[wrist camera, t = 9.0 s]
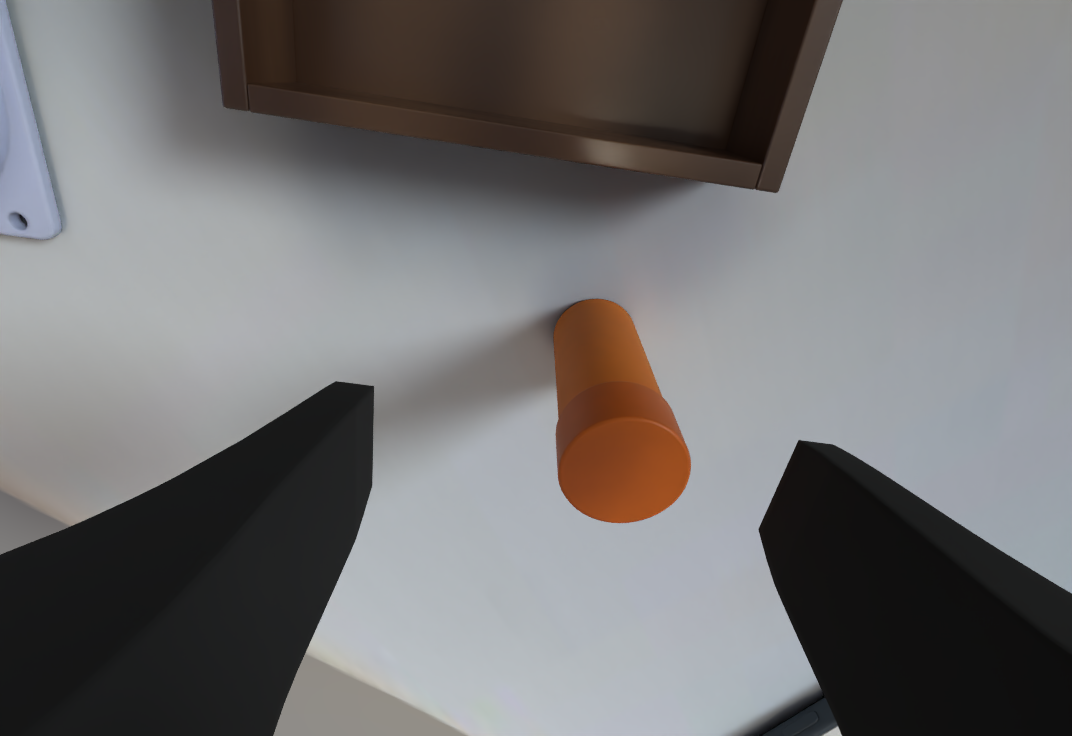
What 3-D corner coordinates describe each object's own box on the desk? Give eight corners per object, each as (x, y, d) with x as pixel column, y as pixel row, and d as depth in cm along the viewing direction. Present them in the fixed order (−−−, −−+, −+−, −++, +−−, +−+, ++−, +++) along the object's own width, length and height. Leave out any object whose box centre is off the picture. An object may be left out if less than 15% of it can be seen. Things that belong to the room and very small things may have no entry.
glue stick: (544, 369, 20) (548, 517, 13) (558, 289, 18) (570, 409, 12) (627, 379, 20) (672, 530, 13) (646, 301, 19) (708, 426, 12)
